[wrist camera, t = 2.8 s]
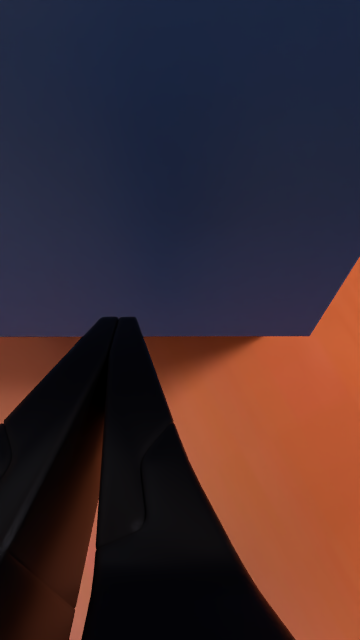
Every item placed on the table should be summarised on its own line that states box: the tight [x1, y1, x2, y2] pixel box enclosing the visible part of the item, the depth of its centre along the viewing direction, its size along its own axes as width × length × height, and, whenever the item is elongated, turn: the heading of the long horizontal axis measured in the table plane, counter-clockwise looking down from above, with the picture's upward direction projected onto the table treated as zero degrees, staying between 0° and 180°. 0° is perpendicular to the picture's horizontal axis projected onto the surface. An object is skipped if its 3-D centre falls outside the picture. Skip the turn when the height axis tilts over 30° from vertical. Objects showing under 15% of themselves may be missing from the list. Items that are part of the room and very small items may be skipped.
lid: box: [0, 0, 360, 337], centre depth 10 cm, size 12×15×1 cm
